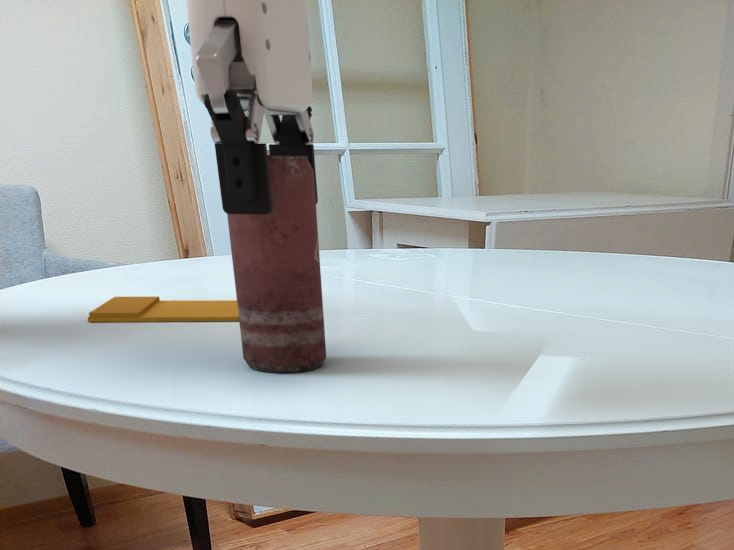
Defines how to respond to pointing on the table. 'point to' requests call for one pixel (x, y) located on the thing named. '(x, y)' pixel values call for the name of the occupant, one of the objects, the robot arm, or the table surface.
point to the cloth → (163, 310)
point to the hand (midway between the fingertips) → (274, 209)
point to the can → (280, 274)
